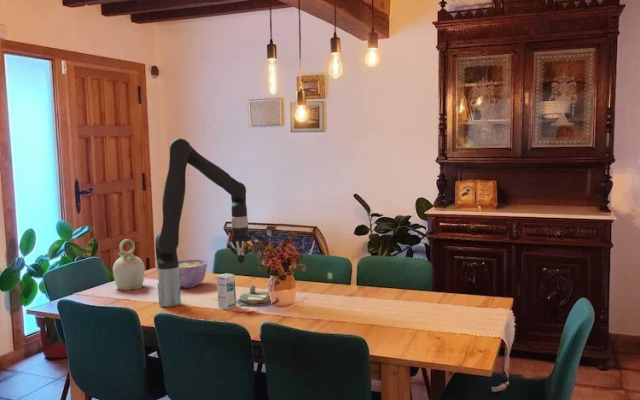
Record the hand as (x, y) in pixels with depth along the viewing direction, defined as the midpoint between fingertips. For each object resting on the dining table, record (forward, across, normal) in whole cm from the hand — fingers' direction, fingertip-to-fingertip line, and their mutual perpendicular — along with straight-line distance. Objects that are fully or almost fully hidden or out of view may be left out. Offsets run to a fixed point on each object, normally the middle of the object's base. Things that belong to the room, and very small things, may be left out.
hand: (241, 262), depth 278 cm
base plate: (+17, +7, -6) cm, 19 cm away
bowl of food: (+17, -30, +28) cm, 45 cm away
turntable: (+17, +7, -6) cm, 19 cm away
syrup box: (+17, -6, -14) cm, 22 cm away
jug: (+17, -60, +29) cm, 69 cm away
